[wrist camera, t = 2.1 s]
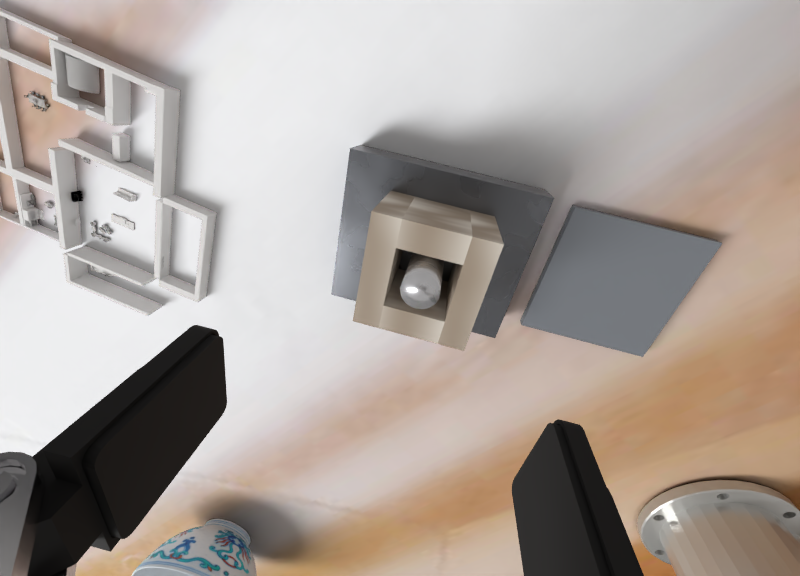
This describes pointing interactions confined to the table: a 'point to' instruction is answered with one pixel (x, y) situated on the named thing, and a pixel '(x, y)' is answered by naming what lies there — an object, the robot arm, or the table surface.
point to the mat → (615, 280)
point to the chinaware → (203, 553)
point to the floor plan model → (69, 76)
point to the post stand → (506, 200)
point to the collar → (435, 237)
